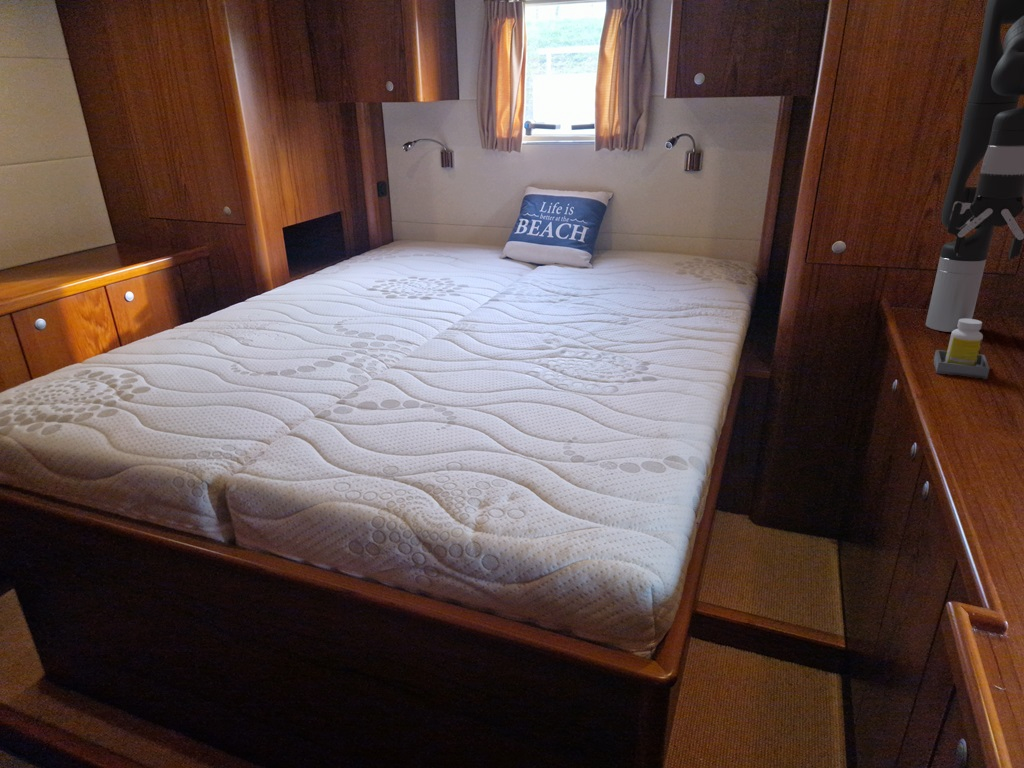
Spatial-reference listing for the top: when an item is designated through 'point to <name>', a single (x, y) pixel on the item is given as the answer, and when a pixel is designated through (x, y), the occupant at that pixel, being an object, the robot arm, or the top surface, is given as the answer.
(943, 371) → the tray
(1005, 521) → the top surface
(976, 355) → the supplement bottle
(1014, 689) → the top surface
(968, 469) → the top surface
